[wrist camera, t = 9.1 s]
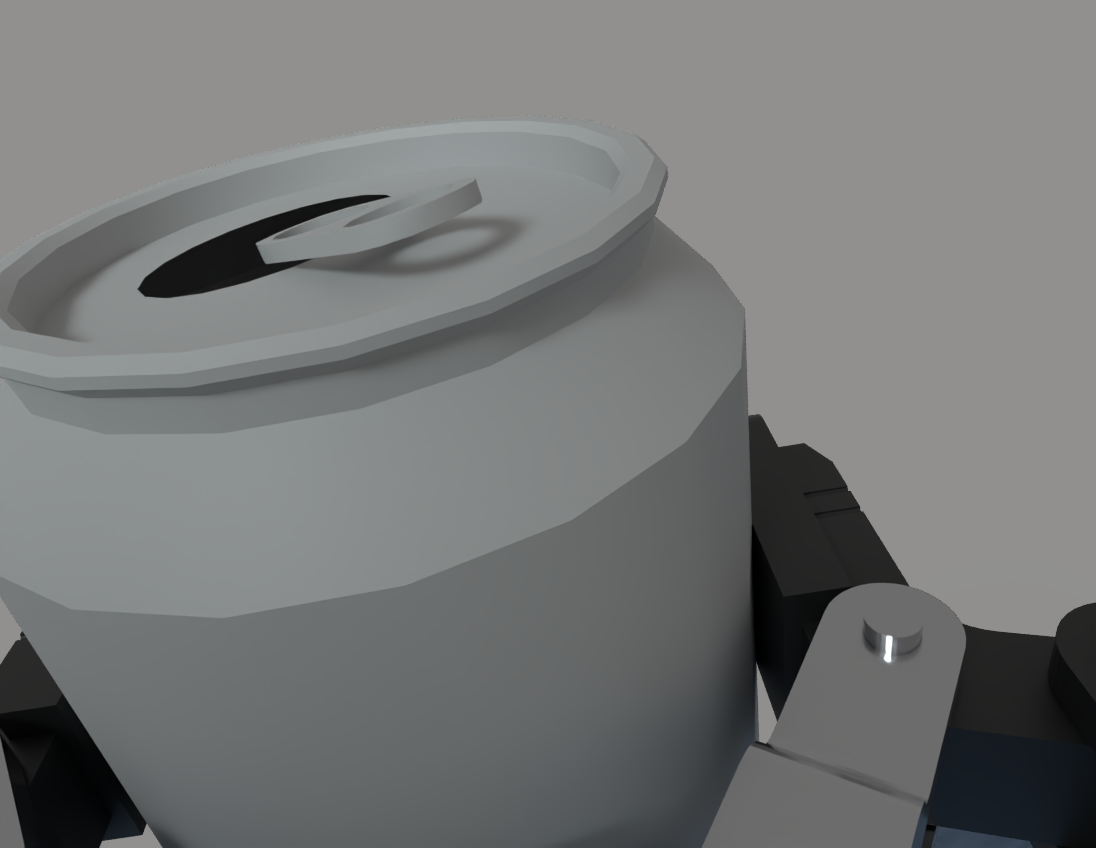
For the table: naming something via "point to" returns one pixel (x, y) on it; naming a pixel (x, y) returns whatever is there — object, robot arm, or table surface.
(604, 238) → the can
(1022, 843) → the table surface
